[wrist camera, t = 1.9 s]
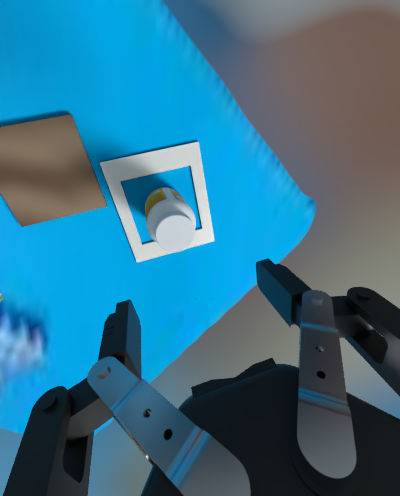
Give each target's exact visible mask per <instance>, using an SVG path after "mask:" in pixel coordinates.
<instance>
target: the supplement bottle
mask: <svg viewBox="0 0 400 496" xmlns="http://www.w3.org/2000/svg"><path fill="white" fill-rule="evenodd" d="M145 216H146V224H147V229H148V232H149V234H150V236H151V237H152V239H153V240H154V241H155V242H157V243H158V244H159V246H160V247H161V248H163V249H164V250H166V251H169V252H179V251H183V250H185V249H186V248H188V247H189V246H190V245H191V244H192V242H193V241H194V238H195V233H196V232H195V227H196V219H195V215H194V213H193V211H192V209H191V208H190V206H189V205H188V204H187V202H186V201H185V200H184V198H183V197H182V196H181V195H180V194H179V193H178V192H177V191H176V190H174V189H171V188H159V189H156V190H154V191H153V192H152V193H150V195H149V196H148V197H147V199H146V202H145Z"/></svg>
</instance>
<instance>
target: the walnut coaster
mask: <svg viewBox="0 0 400 496" xmlns="http://www.w3.org/2000/svg"><path fill="white" fill-rule="evenodd" d="M0 193H1V195H2V196H3V198H4V199H5V201H6V203H7V204H8V206H9V207H10V209H11V211H12V212H13V214H14V215H15V217H16V219H17V220H18V222H19V223H20V225H21V227H23V226H28V225H32V224H36V223H40V222H44V221H48V220H53V219H57V218H61V217H65V216H69V215H73V214H78V213H82V212H86V211H90V210H94V209H98V208H103V207H107V203H106V200H105V198H104V195H103V193H102V190H101V188H100V185H99V183H98V180H97V178H96V175H95V173H94V170H93V167H92V165H91V162H90V160H89V157H88V155H87V152H86V150H85V147H84V145H83V142H82V140H81V137H80V134H79V132H78V129H77V127H76V124H75V122H74V119H73V117H72V115H71V114H69V115H64V116H58V117H53V118H47V119H42V120H36V121H31V122H25V123H20V124H14V125H8V126H3V127H0Z"/></svg>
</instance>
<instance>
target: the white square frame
mask: <svg viewBox="0 0 400 496" xmlns="http://www.w3.org/2000/svg"><path fill="white" fill-rule="evenodd" d="M100 165H101V168H102V170H103V173H104V176H105V178H106V181H107V184H108V186H109V189H110V192H111V194H112V197H113V200H114V202H115V205H116V208H117V210H118V213H119V216H120V218H121V221H122V224H123V226H124V229H125V232H126V234H127V237H128V240H129V242H130V245H131V248H132V250H133V253H134V256H135V258H136V261H137V263H138V262H141V261H145V260H148V259H152V258H156V257H159V256H163V255H166V254H170V253H173V252H169V251H166V250H164V249H163V248H161V247H160V246H159V244H158V243H157V242H155V241H152V242H149V243H145V244H142V243H141V240H140V237H139V234H138V231H137V228H136V225H135V222H134V219H133V216H132V214H131V211H130V208H129V205H128V202H127V199H126V196H125V193H124V190H123V188H122V185H121V182H120V181H124V180H129V179H133V178H137V177H142V176H146V175H151V174H155V173H159V172H164V171H168V170H173V169H177V168H181V167H186V166H191V172H192V177H193V182H194V188H195V193H196V198H197V204H198V209H199V214H200V220H201V225H202V228H201V229H197V230H195V232H196V233H195V238H194V241H193V242H192V244H191V245H190V246H189V247H188V248H191V247H195V246H199V245H202V244H206V243H209V242H213V241H215V240H214V234H213V228H212V222H211V216H210V209H209V203H208V197H207V191H206V185H205V179H204V172H203V166H202V160H201V154H200V148H199V142H194V143H189V144H184V145H180V146H175V147H170V148H165V149H161V150H156V151H151V152H147V153H142V154H137V155H132V156H128V157H123V158H118V159H114V160H109V161H104V162H100ZM188 248H186V249H188Z"/></svg>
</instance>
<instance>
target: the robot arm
mask: <svg viewBox="0 0 400 496" xmlns="http://www.w3.org/2000/svg"><path fill="white" fill-rule="evenodd" d="M256 273H257V283H258V287H259V289H260V290H261V292H262V293H263V294H264V295H265V296H266V298H267V299H268V300H269V302H270V303H271V304H272V305H273V307H274V308H275V309H276V310H277V312H278V313H279V314H280V315H281V316H282V318H283V319H284V320H285V322H286V323H287V324H288V325H289V326H290V328H291V327H295V326H298V327H299V328H300V340H299V362H298V367H295V366H291V365H286V364H276V363H275V362H274V360H273V358H270V359H267V360H265V361H262V362H259V363H256V364H254V365H252V366H251V367H249V368H248V369H246V370H245V371H244V372H242V373H241V374H240V375H238V376H237V377H234V378H227V379H215V380H210V381H207V382H204V383H202V384H199V385H196V386H194V387H191V389H192V394H193V395H192V396H190V397H189V398H188V399H186V400H185V401H184V402H183V404H182V405H181V406H180V407H179V409H177V408H176V407H175V406H174V405H173V404H171V403H170V402H169V401H168V400H167V399H166V398H165V397H163V396H162V395H161V394H160V393H159V392H158V391H157V390H155V389H154V388H153V387H152V386H151V385H150V384H149V383H148V382H147V381H145V380H144V379H141V325H140V321H139V318H138V315H137V313H136V311H135V308H134V306H133V304H132V301H131V300H126V301H123V302H119V303H117V305H116V313H113V314H110V315H109V317H108V318H107V320H106V321H105V324H104V331H103V335H102V336H103V338H102V341H101V346H100V352H99V357H98V362H96V363H95V364H94V365H93V366H92V368H91V369H90V371H89V373H88V376H87V378H85V379H84V380H83V381H81V382H80V383H78V384H76V385H75V386H73V387H72V388H70V389H68V390H67V389H66V388H65V387H63V386H58V387H54V388H52V389H50V390H49V391H47V392H46V393H44V394H43V395H42V396H41V397H40V398H39V399H38V401H37V402H36V403H35V405H34V407H33V409H32V411H31V414H30V417H29V420H28V423H27V426H26V429H25V432H24V435H23V438H22V441H21V444H20V447H19V450H18V453H17V455H16V458H15V461H14V464H13V467H12V470H11V473H10V476H9V479H8V482H7V485H6V488H5V491H4V494H3V496H87V495H88V484H89V475H90V465H91V455H92V445H93V435H94V430H96V429H97V428H98V427H100V426H101V425H102V424H104V423H105V422H106V421H108V420H109V419H110V418H112V417H113V418H114V419H115V420H116V421H117V422H118V424H119V425H120V426H121V427H122V429H123V430H124V431H125V432H126V433H127V435H128V436H129V437H130V438H131V440H132V441H133V442H134V443H135V444H136V446H137V447H138V448H139V450H140V451H141V452H142V454H143V455H144V456H145V457H146V459H147V460H148V461H149V462H150V463H151V465H152V466H153V467H152V470H151V472H150V475H149V477H148V479H147V482H146V484H145V487H144V489H143V492H142V494H141V496H400V419H398V418H396V417H394V416H392V415H390V414H388V413H386V412H384V411H382V410H380V409H378V408H376V407H375V406H372V405H370V404H369V403H367V402H365V401H363V400H361V399H358V398H357V397H355V396H353V395H351V394H349V393H347V392H346V387H345V379H344V371H343V363H342V356H341V348H340V340H339V338H345V339H346V340H347V341H348V342H349V343H350V344H351V345H352V346H353V347H354V348H355V349H356V350H357V352H358V353H359V354H360V355H361V356H362V357H363V358H364V359H365V360H366V361H367V362H368V363H369V364H370V365H371V366H372V368H374V370H375V371H376V372H377V373H378V374H379V375H380V376H381V377H382V378H383V379H384V380H385V381H386V382H387V383H388V385H389V386H390V387H391V388H392V389H393V390H394V391H395V392H396V393H397V394H398V395H399V396H400V309H399V308H398V307H396V306H395V305H393V304H392V303H391V302H389V301H388V300H386V299H385V298H383V297H382V296H380V295H379V294H378V293H376V292H375V291H373V290H371V289H368V288H364V287H353V288H351V289H349V290H348V292H347V296H335V297H330V296H329V295H328V294H327V293H325V292H323V291H319V290H312V289H311V288H310V287H308V286H307V285H306V284H305V283H304V282H303V281H302V280H300V279H299V278H298V277H296V276H295V274H294V273H292V272H291V271H290V270H289V269H288V268H287V267H285V266H283V265H280V264H276V265H275V264H274V263H273V262H272V261H271V260H270V259H265V260H261V261H258V262H256ZM373 328H374V329H375V330H374V329H373ZM379 333H380V334H381V335H382V336H383V337H382V336H381V335H380V334H379Z"/></svg>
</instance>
